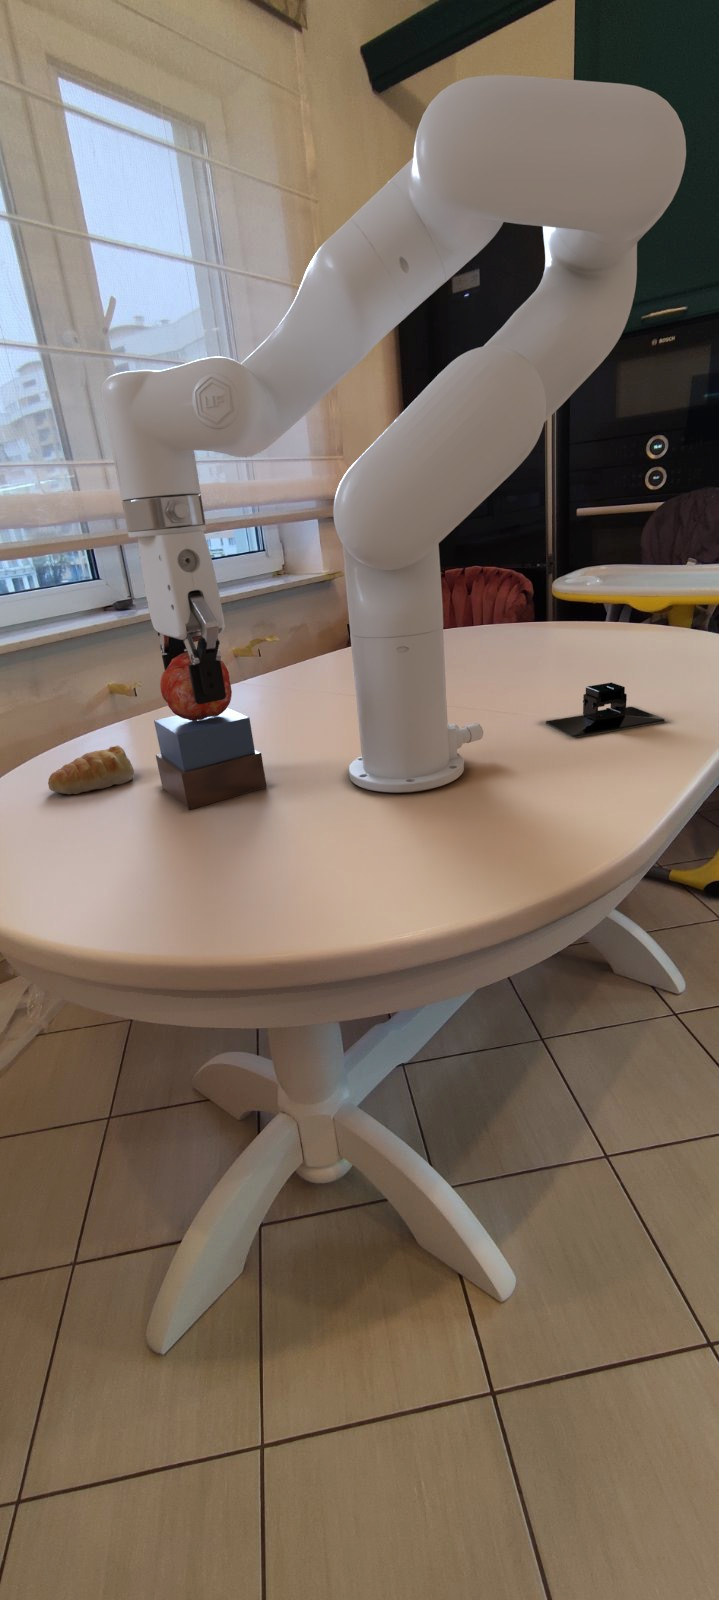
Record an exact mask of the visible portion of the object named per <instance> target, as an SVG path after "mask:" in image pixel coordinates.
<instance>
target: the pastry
mask: <svg viewBox="0 0 719 1600" xmlns="http://www.w3.org/2000/svg"><path fill="white" fill-rule="evenodd" d="M134 774H135V770H134V766H133V764H132V762H131V760H130V759H129V757H128V756H127V754H126V751H125V750H124V748H122V747H121V746H120V745H114V746H109V748H107V749H101V750H94V751H89V752H86V753H84V754H83V755H81V756H80V757H77V758H75V759H74V760H73V761H71V762H69V763H65V764H64V765H63V766H62V767H60V768H59V769H57V770H56V771H53V772H52V773H51V774H50V775H49V778H48V782H47V784H48V789H49V790H50V791H52V792H55V793H59V794H66V795H69V796H70V795H79V794H80V793H85V792H87V793H89V792H91V791H94V790H95V791H96V790H102V789H105V788H110V787H112V786H113V785H122V784H126V783H127V782H129V781H131V780H133V779H134Z"/></svg>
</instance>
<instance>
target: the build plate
mask: <svg viewBox="0 0 719 1600" xmlns="http://www.w3.org/2000/svg"><path fill="white" fill-rule="evenodd" d="M627 697H628V694H627V693H626V687H625V686H623V685H620V684H618V683H615V682H607V683H600V684H593V685H588V686H585V693H584V694H583V699H582V714H579V715H572V716H568V717H561V718H556V719H549V720H545V725H547V726H549V727H551V728H553V729H555V730H557V731H559V732H561V733H563V734H565V735H567V736H569V737H571V738H575V739H576V738H581V737H586V736H592V735H597V734H598V735H599V734H603V733H610V732H615V731H621V730H626V729H631V728H637V727H643V726H649V725H654V724H660V723H664V722H666V721H665V719H666V718H663V717H661V716H658V715H655V714H653V713H650V712H648V711H644V710H643V709H640V708H637V707H633V706H627V702H628V701H627V700H628V698H627ZM605 705H610V707H606V708H605V709H600V710H599V708H601V707H602V708H603V707H605Z"/></svg>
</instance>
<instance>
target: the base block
mask: <svg viewBox="0 0 719 1600" xmlns="http://www.w3.org/2000/svg"><path fill="white" fill-rule="evenodd" d="M262 755H263V754H262V752H260V751H258V750H257V749H255V753H252V754H249V755H245V756H241V757H238V758H234V759H230V760H226V761H223V762H219V763H215V764H211V765H208V766H204V767H200V768H197V769H193V770H189V771H185V772H184V771H183V770H182V769H180V768H179V767H177V766H176V765H175V764H173V763H172V762H171V761H169V760H168V759H167V758H165V757H164V756H162V755H161V753H158V754H155V759H156V764H157V769H158V773H159V778H160V781H161V782H160V783H161V788H162V789H163V790H164V791H165V792H167V793H168V794H169V795H170V796H171V797H172V798H174V799H175V800H176V801H177V802H179V804H181V805H182V806H183V807H185V808H186V809H187V811H190V810H194V809H197V808H200V807H204V806H208V805H211V804H214V803H217V802H221V801H224V800H227V799H231V798H234V797H238V796H241V795H245V794H248V793H252V792H255V791H258V790H261V789H265V788H267V782H266V773H265V769H264V768H265V767H264V762H263V761H264V760H263V756H262Z"/></svg>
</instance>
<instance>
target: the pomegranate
mask: <svg viewBox="0 0 719 1600" xmlns="http://www.w3.org/2000/svg"><path fill="white" fill-rule="evenodd" d="M220 661H221V667H222V673H223V679H224V686H225V692H226V697H225V699H223V700H218V701H213V702H209V703H204V704H197V703H196V702H195V700H194V694H193V689H192V683H191V677H190V672H189V666H188V665H191V664H192V662H191V659H190V657H189V654H188V652H185V653H183V654H180V655H178V656H177V657H175V658H174V659H172V661H171V663H170V664H169V666H168V667H167V669H166V671H165V670H164V671H163V672H162V674H161V677H160V681H159V688H160V693H161V697H162V699H163V700H164V701H165V702H166V703H167V707H168V708H169V710H170V711H172V713H173V714H174V715H178V716H179V717H181V718H183V719H188V720H192V721H195V720H201V719H204V718H207V717H216V716H218V715H220V714H222V713H223V712H224V711H225V710H226V709H227V708H229V706H230V705H231V700H232V695H233V694H232V693H233V692H232V685H231V681H230V672H229V670H228V668H227V666H226V664H225V663H224V661H223V660H222V659H221V660H220Z"/></svg>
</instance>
